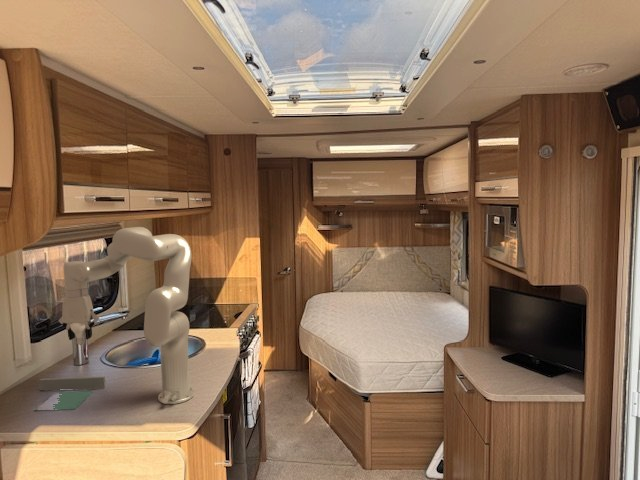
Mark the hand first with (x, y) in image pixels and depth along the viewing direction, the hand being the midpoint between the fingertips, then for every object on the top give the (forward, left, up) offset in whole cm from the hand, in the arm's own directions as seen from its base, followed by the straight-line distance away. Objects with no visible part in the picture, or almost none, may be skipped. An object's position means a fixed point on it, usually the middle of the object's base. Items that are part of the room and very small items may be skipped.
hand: (80, 338), depth 168 cm
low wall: (-4, +2, -19) cm, 20 cm away
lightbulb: (0, 0, -3) cm, 3 cm away
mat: (-14, 0, -19) cm, 23 cm away
